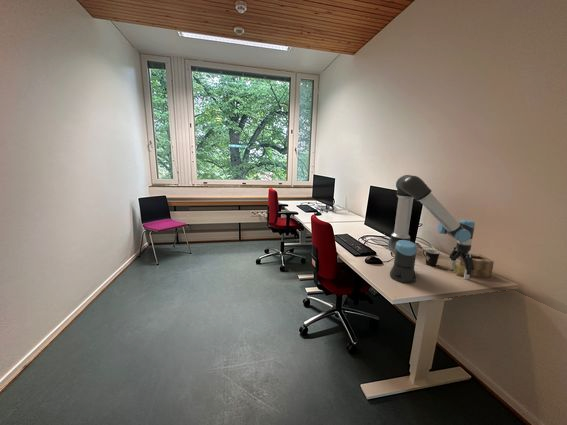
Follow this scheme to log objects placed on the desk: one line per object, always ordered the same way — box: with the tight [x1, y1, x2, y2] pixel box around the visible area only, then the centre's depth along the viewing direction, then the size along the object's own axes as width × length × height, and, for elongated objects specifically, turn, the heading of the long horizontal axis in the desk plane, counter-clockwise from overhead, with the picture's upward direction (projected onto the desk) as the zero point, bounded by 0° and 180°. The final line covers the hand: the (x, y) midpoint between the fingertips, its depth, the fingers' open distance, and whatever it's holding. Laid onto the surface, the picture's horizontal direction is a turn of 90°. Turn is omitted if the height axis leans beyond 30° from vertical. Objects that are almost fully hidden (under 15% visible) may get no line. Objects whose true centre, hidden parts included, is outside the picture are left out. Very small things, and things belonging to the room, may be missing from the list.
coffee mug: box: [422, 249, 440, 267], centre depth 170 cm, size 12×9×10 cm
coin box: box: [459, 253, 495, 278], centre depth 156 cm, size 12×12×11 cm
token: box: [453, 264, 466, 276], centre depth 154 cm, size 5×3×6 cm, turn 86°
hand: (459, 273), depth 155 cm, fingers open, 13 cm apart
